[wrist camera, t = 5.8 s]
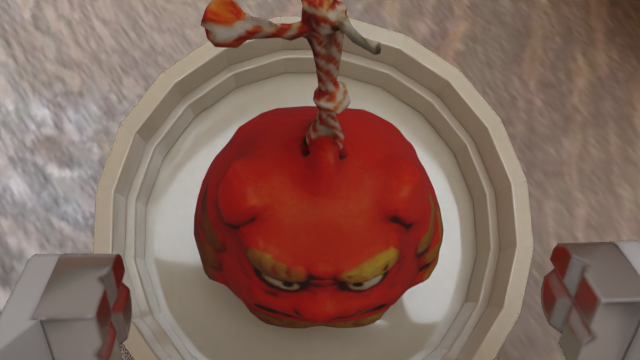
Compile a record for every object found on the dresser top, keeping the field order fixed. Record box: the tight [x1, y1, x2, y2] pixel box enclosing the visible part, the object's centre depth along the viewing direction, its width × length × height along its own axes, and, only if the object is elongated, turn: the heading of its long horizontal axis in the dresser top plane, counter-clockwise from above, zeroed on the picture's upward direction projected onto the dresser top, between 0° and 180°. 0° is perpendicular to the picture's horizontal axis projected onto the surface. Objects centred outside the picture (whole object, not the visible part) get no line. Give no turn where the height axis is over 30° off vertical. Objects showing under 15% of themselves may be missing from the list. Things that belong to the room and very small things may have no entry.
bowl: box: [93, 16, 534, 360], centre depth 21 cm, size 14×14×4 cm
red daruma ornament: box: [194, 0, 444, 329], centre depth 15 cm, size 8×7×15 cm
